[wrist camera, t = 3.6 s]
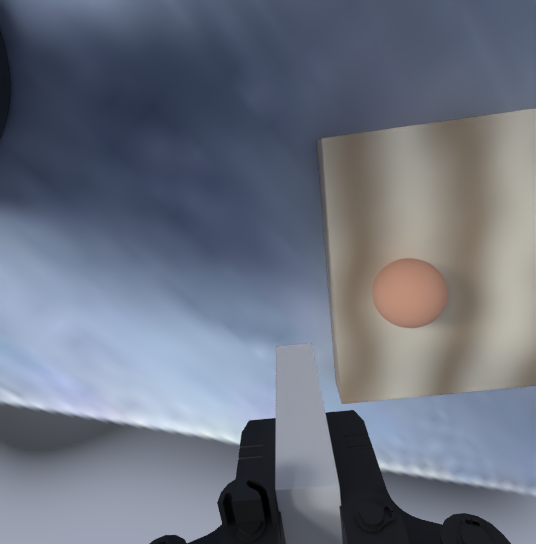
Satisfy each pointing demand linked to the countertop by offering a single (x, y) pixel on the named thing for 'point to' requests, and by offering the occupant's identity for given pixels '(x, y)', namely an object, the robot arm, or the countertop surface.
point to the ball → (410, 293)
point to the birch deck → (433, 253)
